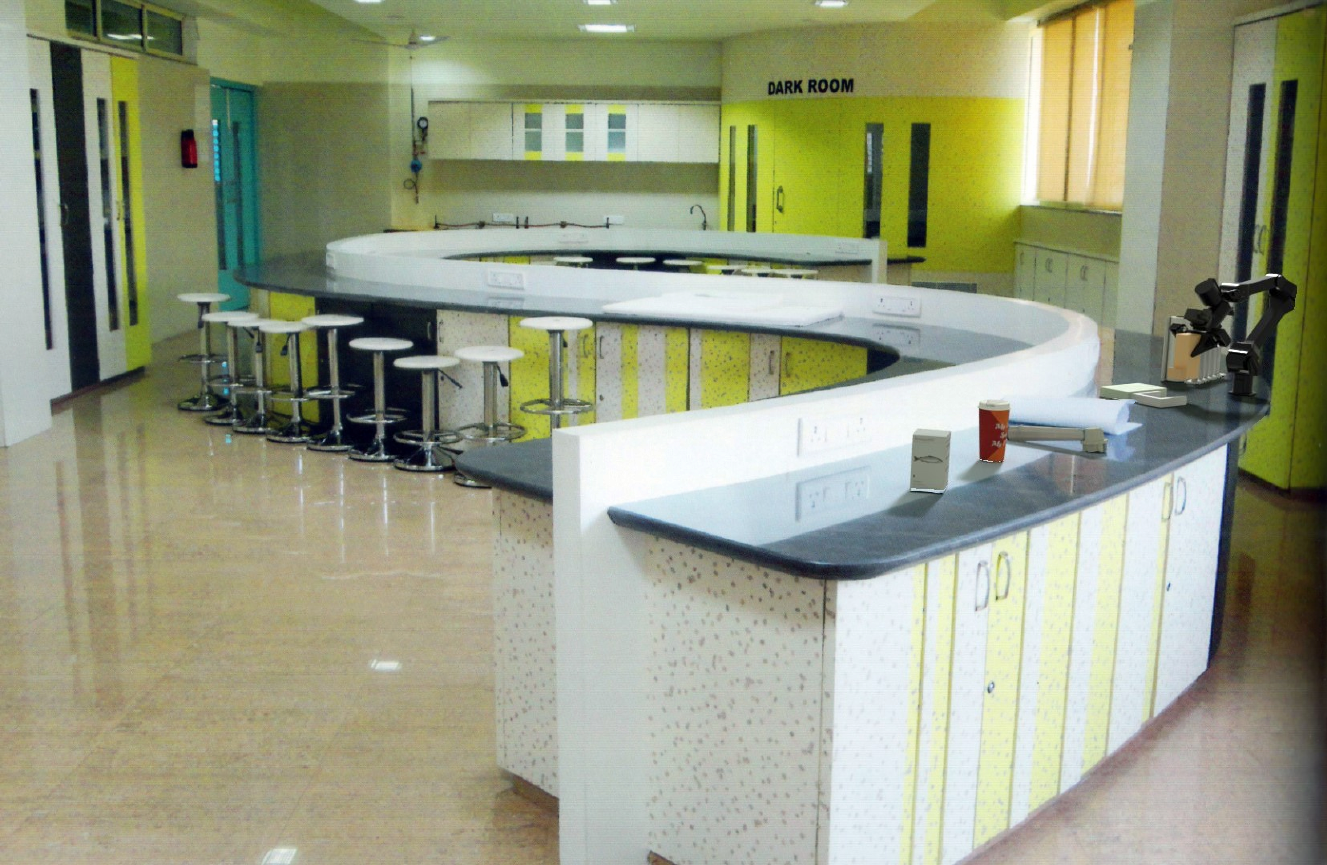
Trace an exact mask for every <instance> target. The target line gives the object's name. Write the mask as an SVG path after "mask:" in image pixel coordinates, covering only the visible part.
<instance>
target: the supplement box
mask: <svg viewBox="0 0 1327 865" xmlns="http://www.w3.org/2000/svg"><path fill="white" fill-rule="evenodd" d="M951 438H952V431H951V430H943V429H930V428H929V429H928V428H916V429H915V431H914V432H913V433H912V442H911V460H910V463H911V464H910V478H909V479H910V480H909V481H910V482H909V489H910V488H916V489H934V490H944V489H945V488H946V486H947V485H948V486H949V474H950V473H949V472H950V456H951V455H950V454H951V452H950V451H951ZM948 486H947V487H948Z"/></svg>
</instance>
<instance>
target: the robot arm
mask: <svg viewBox="0 0 1327 865" xmlns="http://www.w3.org/2000/svg"><path fill="white" fill-rule="evenodd" d="M1297 286H1298V285H1296V284H1295V283H1293V282H1292V281H1290V280H1288V279H1287V278H1286V277H1285V276H1284V275H1282V274H1278V273H1267V274H1266V275H1264V276H1259V277H1255V278H1253V279H1249V280H1246V281H1243V282H1223V283H1221V284H1220V285H1219V284H1218V282H1217V279H1216V278H1215V277H1208V278H1207V279H1206V280H1203V281H1202V282H1200V283H1198V284H1196V286H1194V293H1195V294H1196V297H1198V299H1199V301H1200V303H1201V304H1202V305H1203V306H1204V307H1207V308H1203V309H1198V308H1189V307H1187V308H1186V309H1185V310H1186V311H1185V312H1184V314H1183V316H1184V317H1183V318H1184V319H1186V320H1188V321H1190V329H1189V328H1187V326H1186V325H1185V324H1182V323H1173V324H1172V325H1171V326H1170V327H1169V329H1170V331H1171V332H1172V334H1173V335H1174V337H1175V338H1176V334H1181V333H1192V334H1199V335H1201V338H1200V341H1199V343H1198V344H1197V345H1196V347H1195V348H1194V350H1193V351H1192V353H1191V355H1190V356H1191V358H1193V357H1195V356H1197V355H1199V354H1202V353H1204V352H1206V351H1208V350H1211V349H1213V348H1217V347H1218V346H1217V344H1219V346H1220V347H1222V348H1228V347H1229V345H1230V344H1231V343H1232V338H1231V336H1230V334H1229V333H1228V332H1227V330H1226V329H1225V328H1223V325H1222V323H1223V321H1224V320H1225V319H1226V318H1227V316H1231V317H1235V310H1234V306H1231V305H1230V304H1242V303H1243V302H1245V301H1247V300H1248V299H1249V297H1250V296H1252V295H1253V296H1254V295H1256V294H1259V293H1263V292H1265V291H1266V293H1267V294H1268V295H1269V296H1270V297H1269V298H1268V299H1269V303H1268V304H1269V306H1268V308H1267V310H1266V311H1265V312H1264V313H1263V315H1262V317H1261V318H1260V319H1259V320H1258V321H1257V323H1256V325H1255V326H1254V327H1253V329H1252V330H1251V332H1250V333H1249V335H1248V336H1247V337H1246V339H1245V340H1244V341H1242V342H1240V341H1234V343H1233V344H1232V345H1231V347H1230V349H1228V350H1227V353H1226V354H1227V355H1226V356H1225V363H1226V364H1225V365H1226V366H1225V367H1226V369H1227V370H1226V371H1227V373H1229V374H1230V373H1231V374H1233V378H1232V379H1233V381H1232V389H1231V390H1229V391H1227V394H1233V395H1242V396H1247V397H1248V396H1253V395H1256V394H1258V392H1257V391H1254V386H1255V385H1254V384H1255V383H1254V382H1255V377H1259V376H1261V375H1262V374H1263V370H1264V368H1263V366H1262V364H1260V362H1259V360H1260V357H1261V356H1260V354H1261V353H1260V350H1261V348H1262V347H1263V346H1264V344H1265V342H1266V341H1267V340H1268V338H1269V337H1270V335H1271V334H1272V333H1273V332H1274V330H1275V328H1277V326H1278V325H1279V323H1280V322H1281V320H1283V317H1284V316H1285V315H1288V314H1289V313H1290V312H1293V311H1295V309H1294V307H1295V298H1296V294H1297Z"/></svg>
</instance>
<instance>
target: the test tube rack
mask: <svg viewBox="0 0 1327 865" xmlns="http://www.w3.org/2000/svg"><path fill="white" fill-rule="evenodd" d="M1217 346H1218V347H1217V348H1213V349H1211V350H1208V351H1206V352H1204V353H1202V354H1200V362H1199V373H1198V378H1194V379H1186V381H1183V382H1184V384H1185V383H1186V384H1188V385H1195V384H1199V385H1202V384H1205V383H1207V381H1208V382H1210V381H1209V380H1212V381H1214V380H1218V379H1220V377H1221V378H1223V377H1222V376H1224V377H1226V376H1227V374H1226V373H1221V372H1220V370H1221V368H1220V367H1221V366H1220V365H1221V358H1222V357H1221V355H1222V348H1223V347H1220V346H1219V344H1217ZM1217 378H1218V379H1217ZM1204 382H1205V383H1204Z"/></svg>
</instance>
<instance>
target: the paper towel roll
mask: <svg viewBox="0 0 1327 865" xmlns="http://www.w3.org/2000/svg"><path fill="white" fill-rule="evenodd" d="M1183 317H1184V315H1174V316H1173V315H1172V316H1171V315H1170V316H1165V322H1164V323H1165V324H1164V333H1163V334H1164V335H1163V346H1162V347H1163V350H1162V360H1161V361H1162V362H1161V371H1160V372H1161V373H1160V374H1161V375H1160V381H1165V380H1166V381H1169V382H1178V383H1179V382H1180V383H1181V382H1185V381H1187V379H1184V380H1179V379H1174V378H1169V377H1168V367H1173V364H1174V353H1175V342H1176V338H1175V337H1174V335H1173V334H1172V332H1171V331H1170V329H1169V327H1170V326H1171V325H1172V324H1173V323H1182V324H1185V325H1186V326H1187V328H1189V329H1191V326H1190V321H1188V320H1186V319H1184V318H1183Z"/></svg>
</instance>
